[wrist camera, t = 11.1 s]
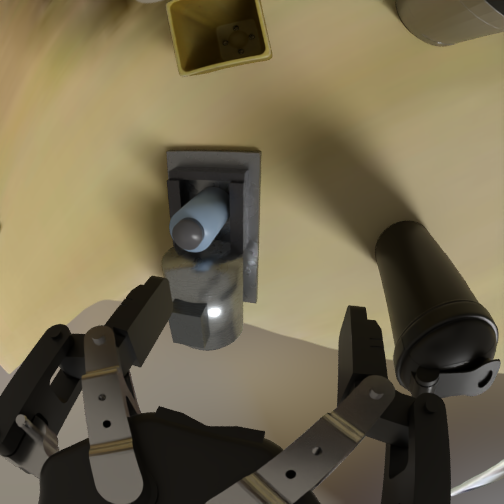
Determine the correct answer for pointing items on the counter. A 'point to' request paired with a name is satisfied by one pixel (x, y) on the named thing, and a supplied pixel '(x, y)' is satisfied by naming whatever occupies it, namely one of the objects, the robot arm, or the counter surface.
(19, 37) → the counter surface
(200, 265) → the electric motor
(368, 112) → the counter surface
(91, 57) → the counter surface
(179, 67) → the flower pot
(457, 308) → the water bottle
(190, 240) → the blue capped cylinder
